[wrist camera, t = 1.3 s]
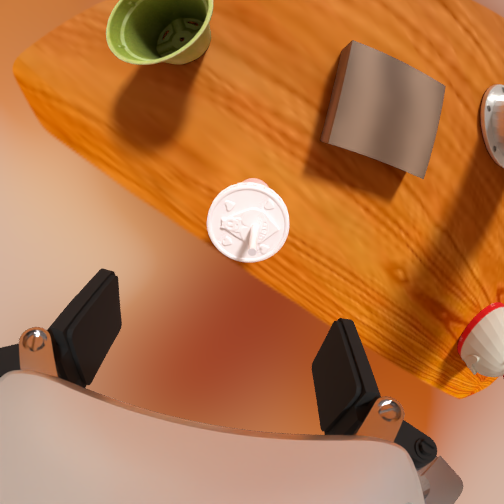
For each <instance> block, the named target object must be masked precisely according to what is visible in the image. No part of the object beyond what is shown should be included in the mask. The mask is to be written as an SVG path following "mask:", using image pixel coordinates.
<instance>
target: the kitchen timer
mask: <svg viewBox="0 0 504 504" xmlns="http://www.w3.org/2000/svg"><path fill="white" fill-rule="evenodd" d="M457 349H458V353H459V355H460V356H461V358H462V359H463V360H464V362H465V363H466V365H467V366H468V368H469V369H470V370H471V371H472V373H473V374H474V375H475V374H476V373H477V372H478V373H479V374H482V375H484V376H488V377H499V376H503V377H504V304H502V303H500V302H498V303H493V304H491V305H489V306H487V307H486V308H484V309H483V310H482V311H480V312H479V313H478V314H477V315H476V316H475V317H474V318H473V319H472V321H471V322H470V323H469V324H468V325H467V327H466V328H465V330H464V332H463V333H462V335H461V337H460V339H459V342H458V346H457Z"/></svg>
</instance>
